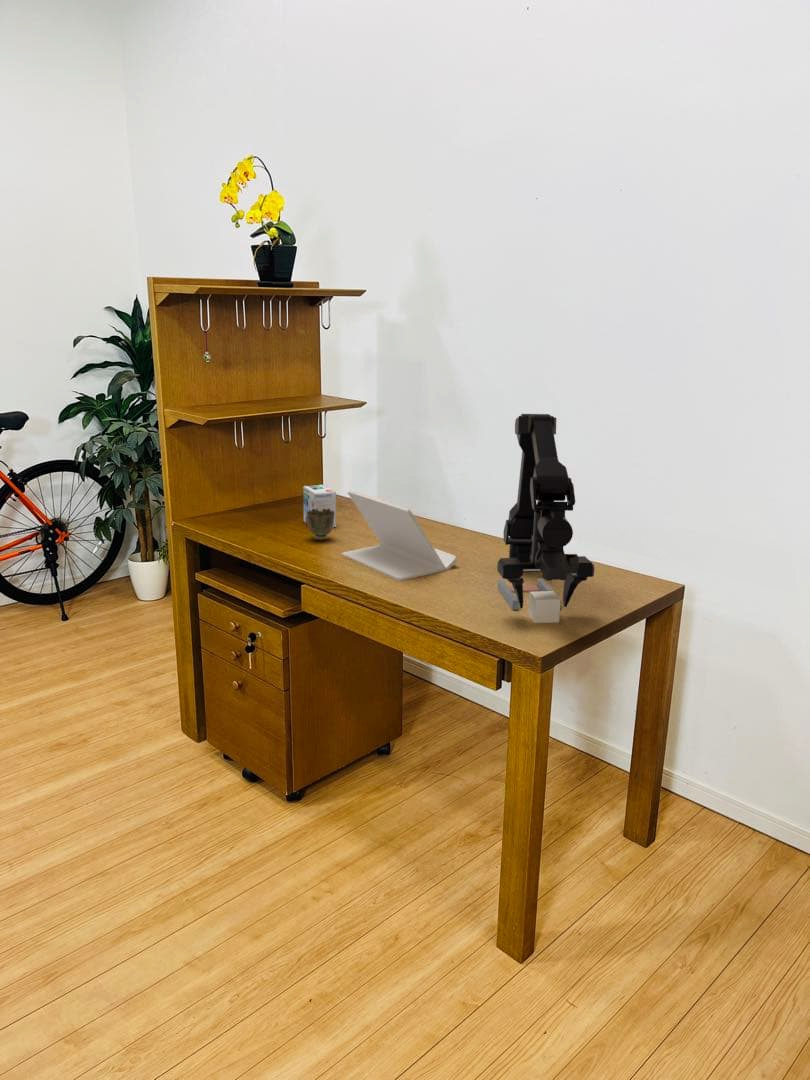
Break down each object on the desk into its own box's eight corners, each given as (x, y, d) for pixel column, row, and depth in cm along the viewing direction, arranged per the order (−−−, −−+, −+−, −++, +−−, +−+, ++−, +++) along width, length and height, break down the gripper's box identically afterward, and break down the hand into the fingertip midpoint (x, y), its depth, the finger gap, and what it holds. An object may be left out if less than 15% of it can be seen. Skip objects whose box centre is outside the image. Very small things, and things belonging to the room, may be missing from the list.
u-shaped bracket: (497, 588, 185) (497, 579, 185) (542, 586, 187) (542, 578, 186) (512, 609, 172) (512, 601, 172) (560, 608, 173) (561, 599, 173)
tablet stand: (399, 581, 190) (400, 510, 185) (340, 556, 209) (339, 490, 204) (458, 568, 200) (460, 500, 196) (397, 544, 219) (397, 482, 215)
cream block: (528, 614, 170) (529, 591, 169) (551, 613, 171) (553, 591, 169) (534, 623, 165) (536, 600, 164) (558, 622, 166) (560, 599, 164)
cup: (335, 536, 226) (335, 507, 223) (334, 543, 219) (333, 514, 216) (308, 536, 225) (307, 507, 223) (306, 543, 218) (305, 514, 216)
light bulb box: (302, 521, 241) (302, 485, 238) (324, 519, 243) (324, 484, 240) (314, 530, 231) (314, 493, 228) (337, 528, 234) (336, 491, 231)
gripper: (511, 546, 155) (507, 623, 159) (606, 544, 157) (600, 620, 161) (498, 530, 165) (494, 603, 170) (587, 529, 168) (582, 600, 172)
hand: (542, 607), depth 168 cm, fingers open, 9 cm apart
